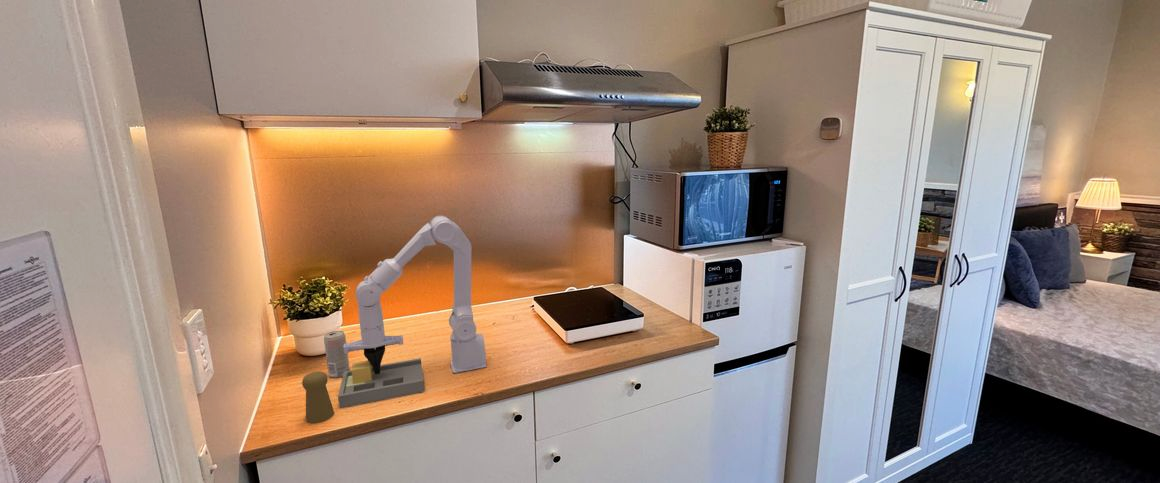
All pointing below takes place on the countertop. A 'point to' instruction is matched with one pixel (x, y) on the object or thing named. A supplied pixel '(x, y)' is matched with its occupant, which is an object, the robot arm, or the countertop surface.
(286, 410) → the countertop surface
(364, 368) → the block
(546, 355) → the countertop surface
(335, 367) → the energy drink
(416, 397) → the countertop surface
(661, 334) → the countertop surface
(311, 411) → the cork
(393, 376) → the trap tray
